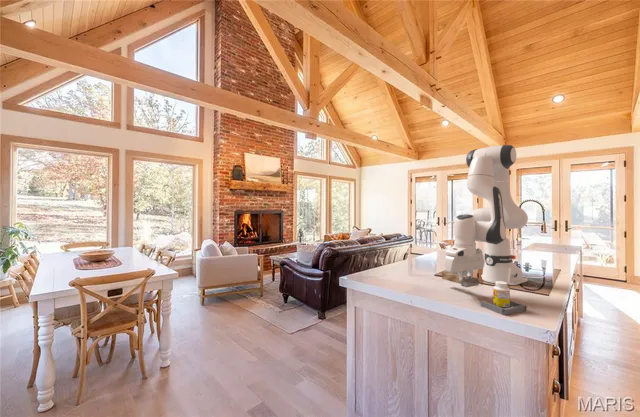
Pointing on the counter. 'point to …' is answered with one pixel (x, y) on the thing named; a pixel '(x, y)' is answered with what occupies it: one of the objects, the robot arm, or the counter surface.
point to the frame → (514, 309)
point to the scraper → (464, 282)
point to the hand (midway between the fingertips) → (465, 280)
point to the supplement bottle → (501, 295)
